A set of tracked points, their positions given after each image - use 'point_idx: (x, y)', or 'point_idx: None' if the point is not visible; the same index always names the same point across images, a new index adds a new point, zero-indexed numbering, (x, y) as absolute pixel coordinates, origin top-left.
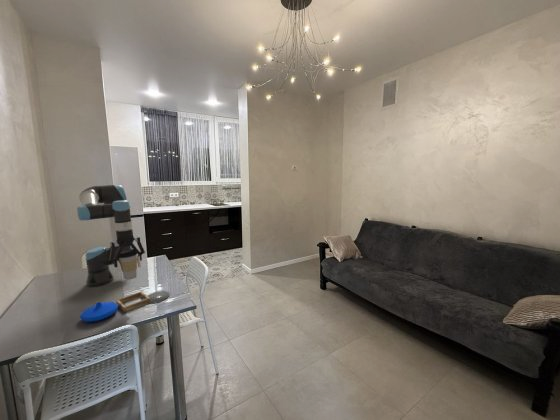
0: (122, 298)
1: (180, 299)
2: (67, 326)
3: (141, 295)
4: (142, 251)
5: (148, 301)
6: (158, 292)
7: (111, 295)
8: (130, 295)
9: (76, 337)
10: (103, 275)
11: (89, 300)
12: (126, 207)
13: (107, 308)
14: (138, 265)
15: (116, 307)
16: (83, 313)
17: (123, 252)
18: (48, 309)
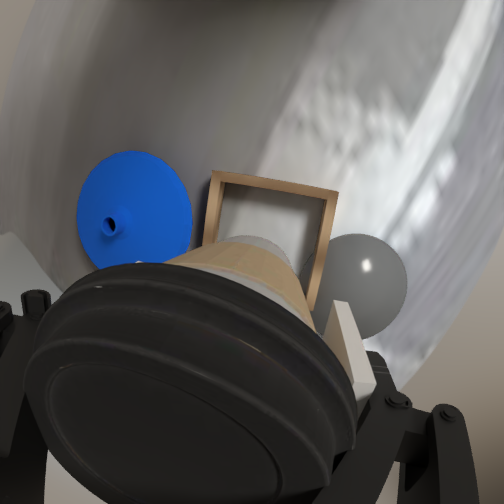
0: (238, 181)
1: None
2: (65, 189)
3: (323, 213)
4: (404, 480)
5: None
6: (385, 259)
7: (251, 50)
8: (279, 185)
9: (69, 286)
10: None
11: (176, 26)
12: None
13: (139, 259)
14: (327, 333)
15: None
16: (82, 202)
17: (94, 449)
18: (86, 7)
